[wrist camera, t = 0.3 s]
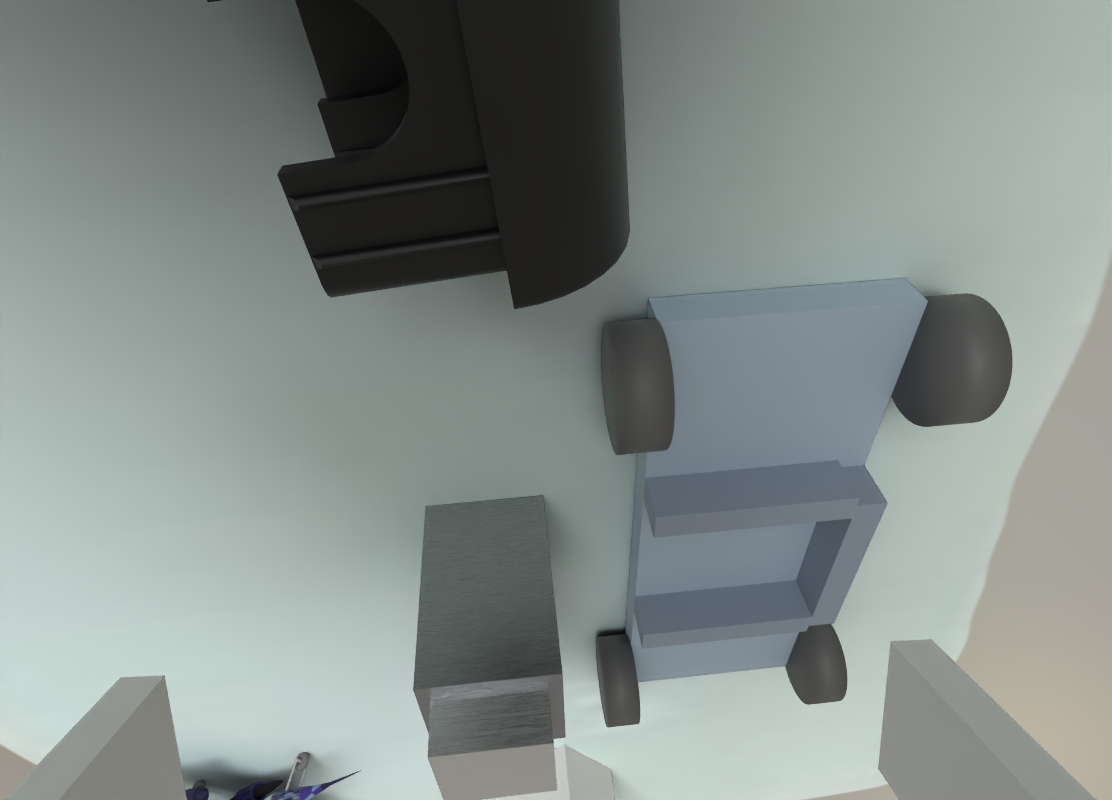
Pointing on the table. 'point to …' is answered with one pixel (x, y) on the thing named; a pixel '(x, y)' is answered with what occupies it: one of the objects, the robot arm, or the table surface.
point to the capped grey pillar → (489, 649)
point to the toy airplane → (269, 787)
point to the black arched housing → (465, 144)
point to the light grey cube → (575, 779)
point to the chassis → (770, 465)
